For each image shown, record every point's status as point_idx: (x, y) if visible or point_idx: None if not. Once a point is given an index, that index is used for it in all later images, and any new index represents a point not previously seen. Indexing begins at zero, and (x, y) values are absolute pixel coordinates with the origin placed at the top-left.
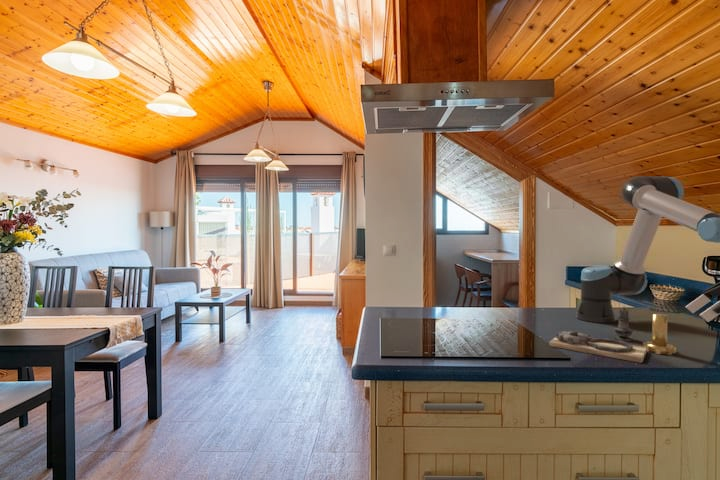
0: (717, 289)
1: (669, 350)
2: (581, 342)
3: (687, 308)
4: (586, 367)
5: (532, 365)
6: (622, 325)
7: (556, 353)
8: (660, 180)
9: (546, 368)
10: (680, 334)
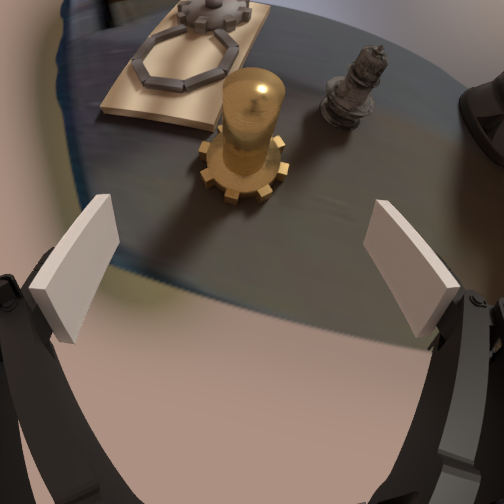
0: (443, 397)
1: (201, 175)
2: (177, 19)
3: (374, 210)
4: (68, 51)
5: (75, 13)
6: (344, 80)
7: (139, 12)
8: None
9: (63, 24)
10: (466, 282)
